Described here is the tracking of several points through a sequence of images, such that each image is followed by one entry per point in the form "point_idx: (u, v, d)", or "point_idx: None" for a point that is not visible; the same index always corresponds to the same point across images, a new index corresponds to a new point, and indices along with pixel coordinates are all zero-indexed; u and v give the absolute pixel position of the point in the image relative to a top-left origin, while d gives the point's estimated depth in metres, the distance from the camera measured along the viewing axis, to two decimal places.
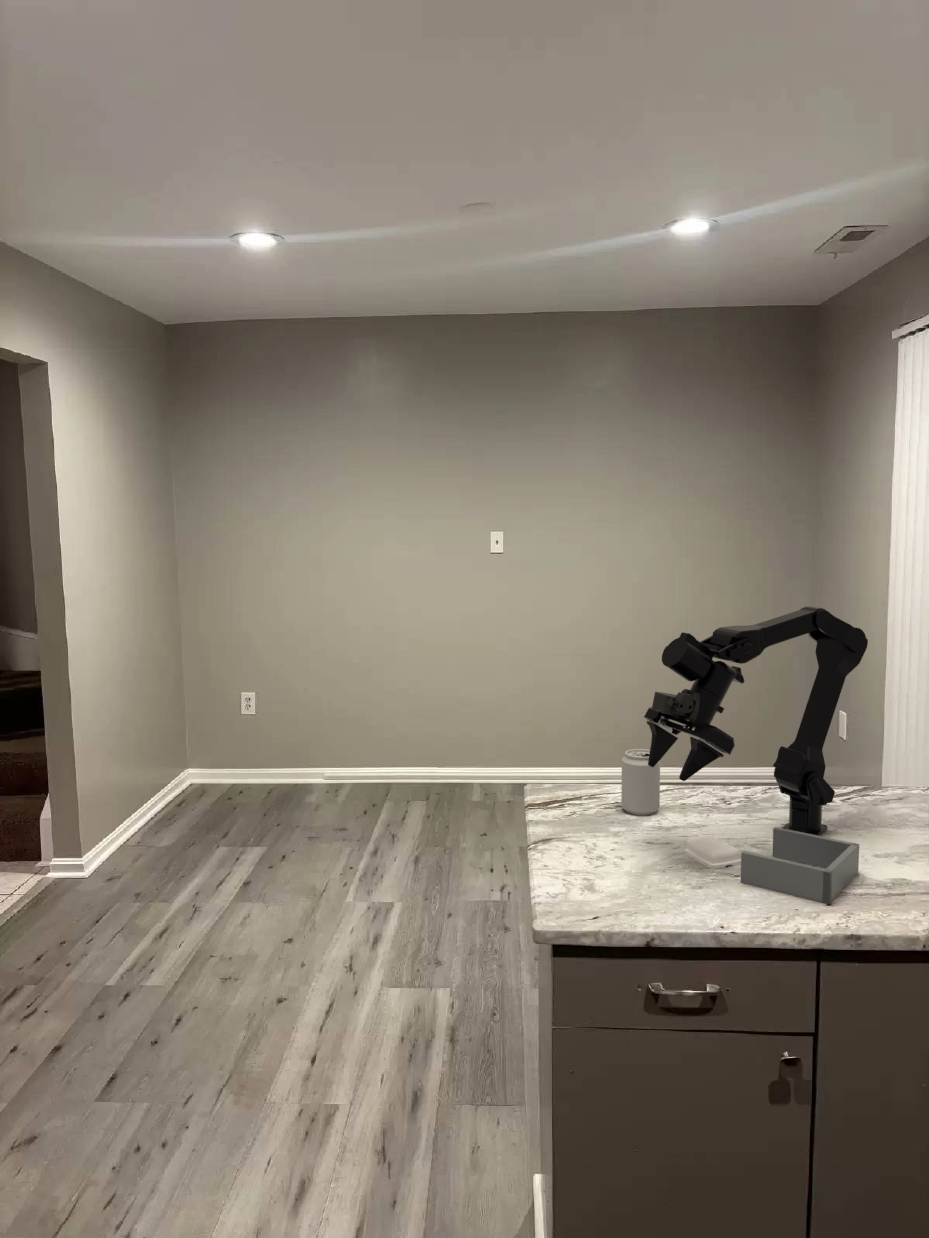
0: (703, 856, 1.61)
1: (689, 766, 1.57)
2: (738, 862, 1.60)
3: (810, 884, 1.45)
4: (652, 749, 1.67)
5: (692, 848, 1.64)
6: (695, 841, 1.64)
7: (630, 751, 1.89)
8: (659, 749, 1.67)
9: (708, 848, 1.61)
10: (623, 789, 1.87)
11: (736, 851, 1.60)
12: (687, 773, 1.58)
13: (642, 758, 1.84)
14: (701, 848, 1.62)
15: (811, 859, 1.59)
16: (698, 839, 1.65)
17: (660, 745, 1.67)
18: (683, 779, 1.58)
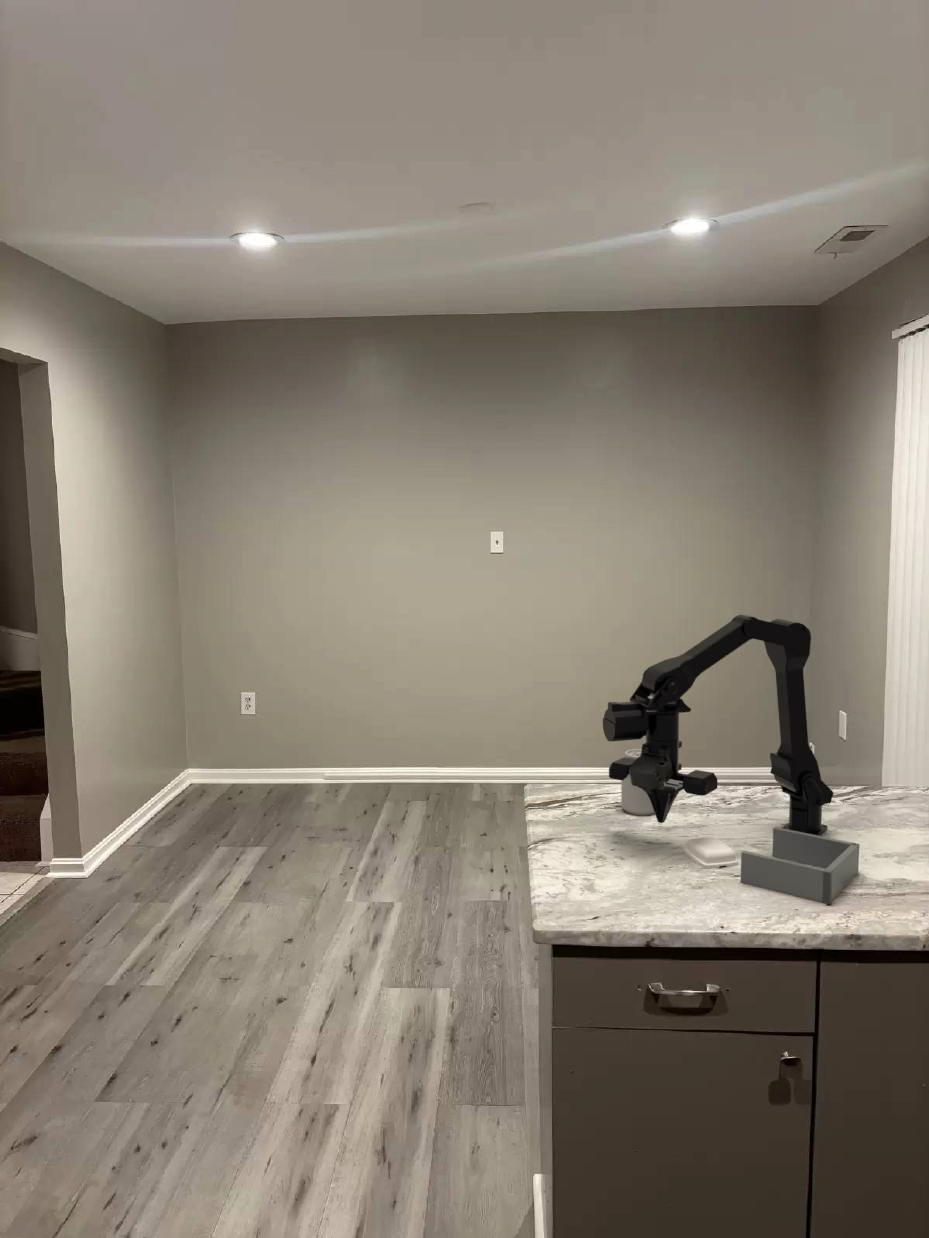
0: (698, 855, 1.61)
1: (665, 810, 1.67)
2: (733, 863, 1.59)
3: (810, 884, 1.45)
4: (656, 807, 1.68)
5: (689, 848, 1.64)
6: (693, 840, 1.64)
7: (630, 751, 1.89)
8: None
9: (704, 848, 1.61)
10: (623, 789, 1.87)
11: (731, 853, 1.60)
12: (665, 815, 1.68)
13: None
14: (697, 847, 1.62)
15: (811, 859, 1.59)
16: (697, 839, 1.65)
17: (659, 799, 1.69)
18: (663, 821, 1.69)
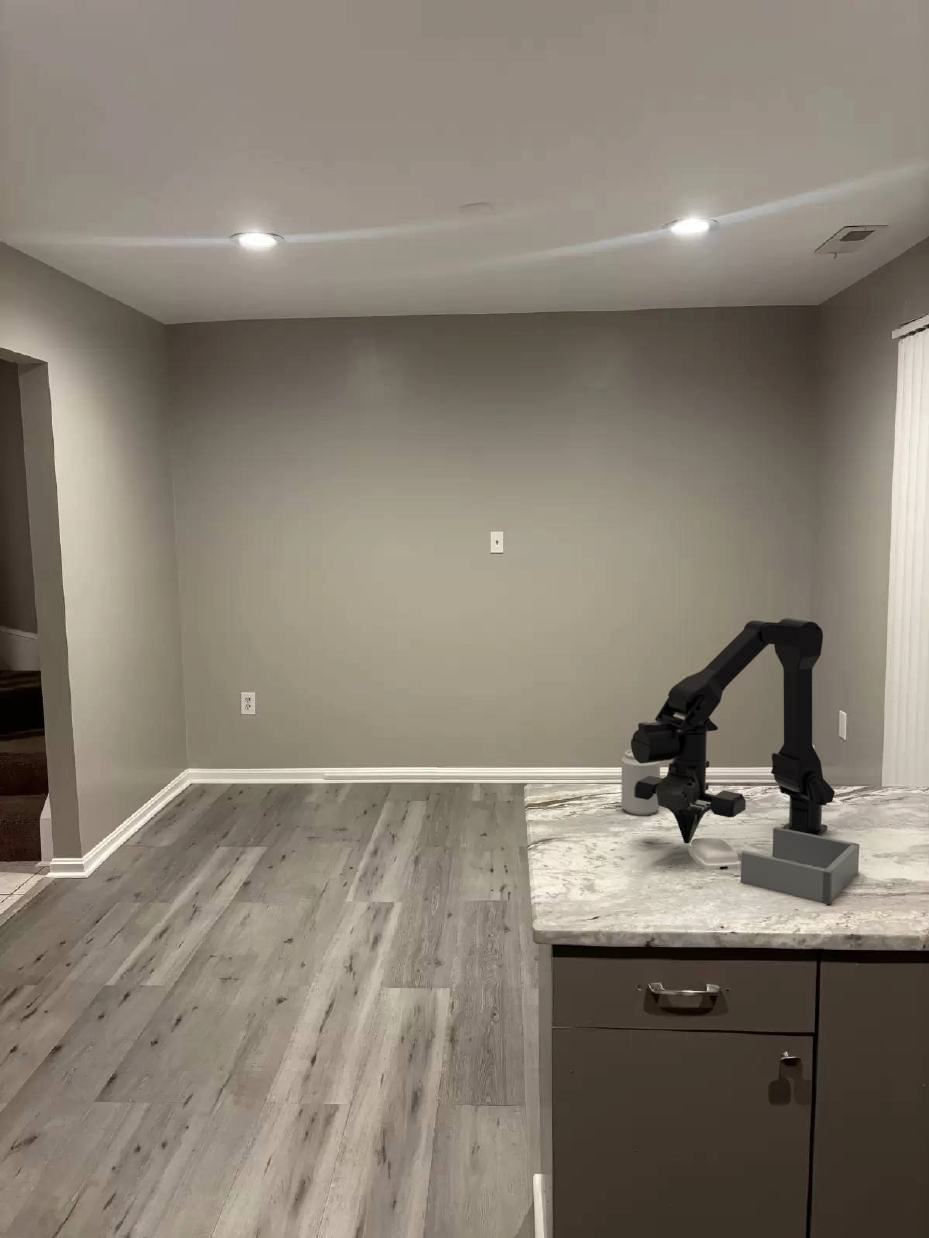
0: (700, 855, 1.60)
1: (691, 831, 1.64)
2: (735, 865, 1.58)
3: (810, 884, 1.45)
4: (682, 828, 1.65)
5: (693, 847, 1.64)
6: (698, 840, 1.64)
7: (630, 751, 1.89)
8: None
9: (706, 848, 1.60)
10: (623, 789, 1.87)
11: (733, 854, 1.59)
12: (691, 836, 1.65)
13: None
14: (700, 847, 1.61)
15: (811, 859, 1.59)
16: (702, 839, 1.65)
17: (686, 819, 1.66)
18: (689, 841, 1.66)
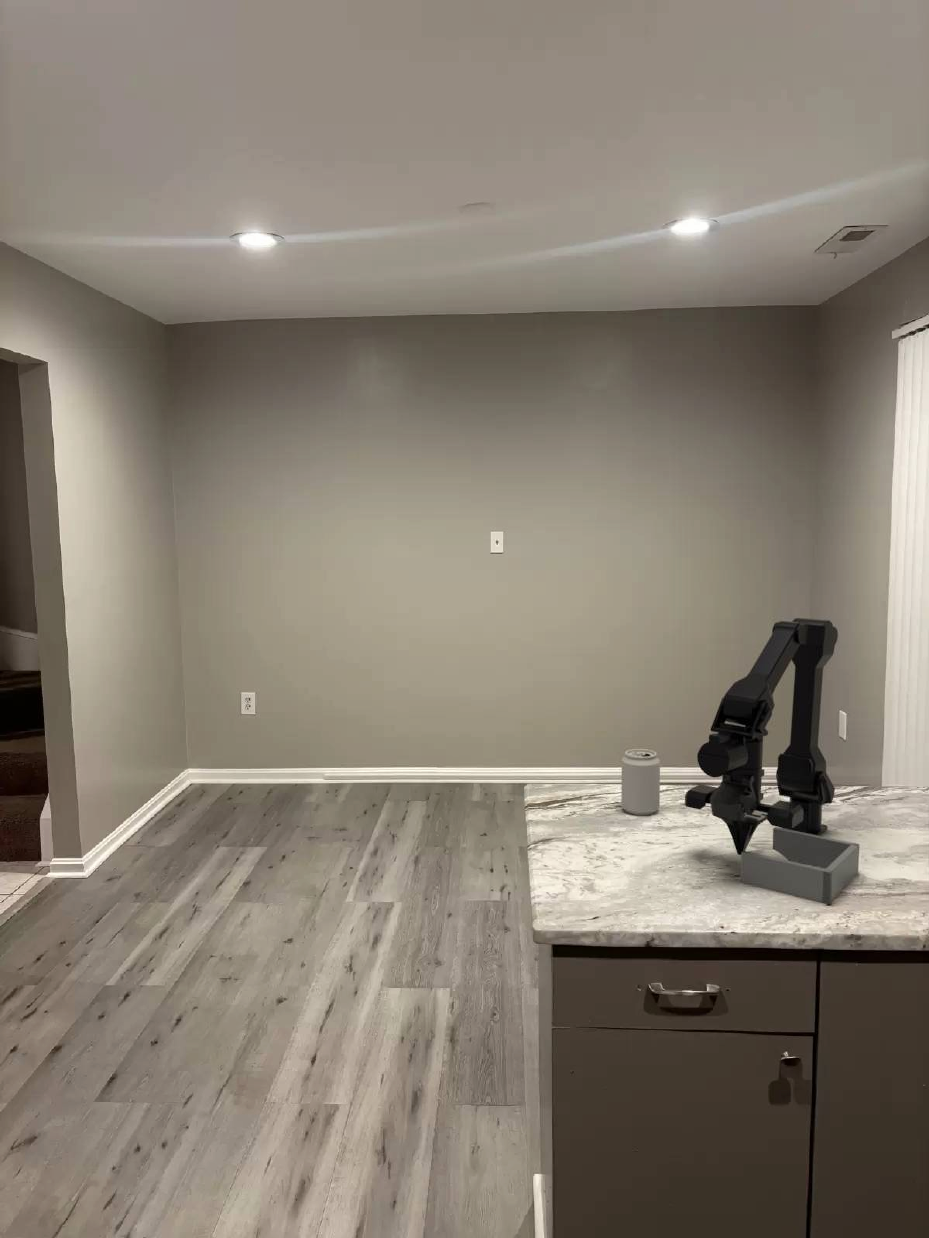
0: None
1: (746, 842, 1.58)
2: None
3: (810, 884, 1.45)
4: (736, 839, 1.59)
5: None
6: None
7: (630, 751, 1.89)
8: None
9: None
10: (623, 789, 1.87)
11: None
12: (745, 847, 1.59)
13: (642, 758, 1.84)
14: None
15: (811, 859, 1.59)
16: (757, 851, 1.59)
17: (739, 830, 1.59)
18: None
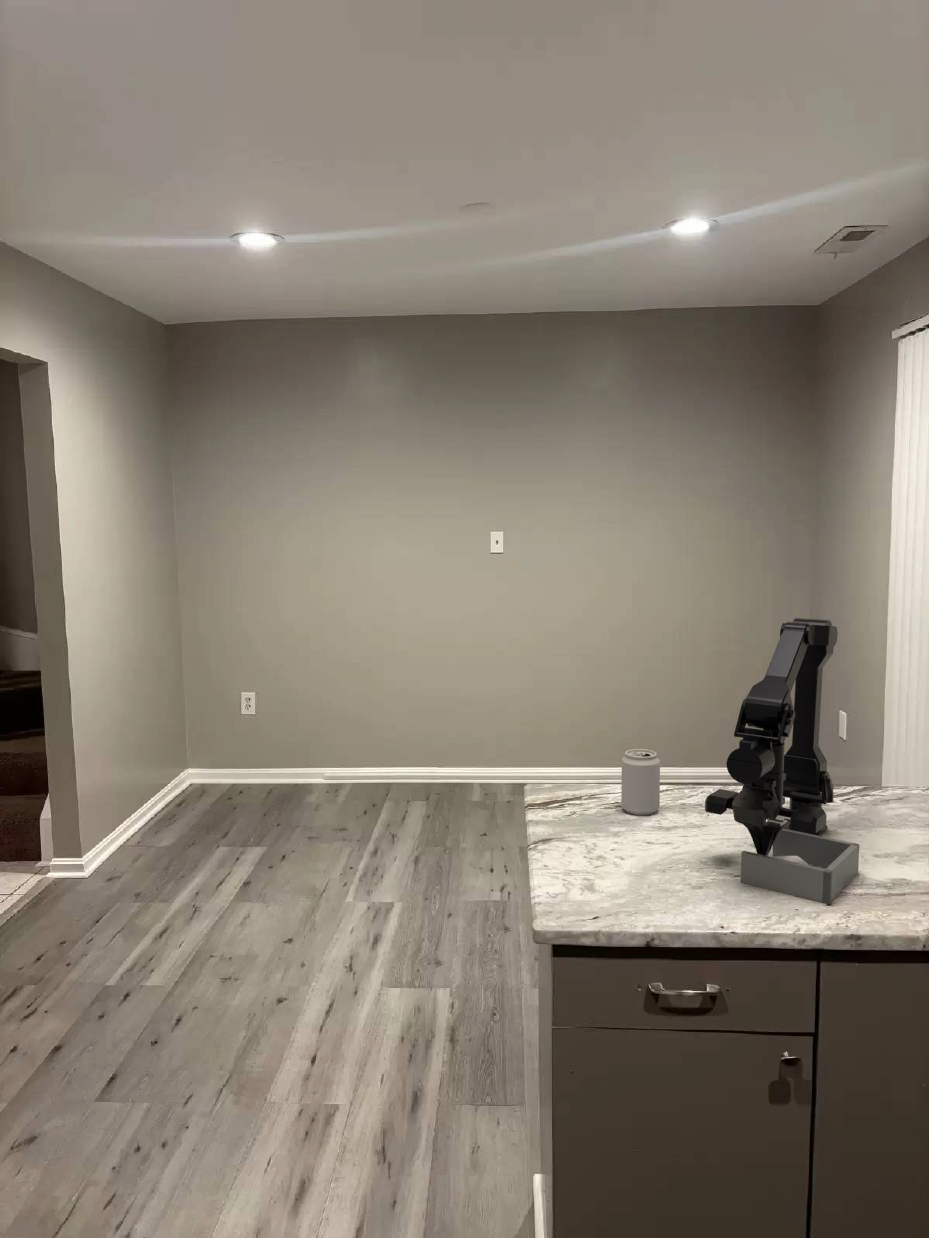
0: None
1: (768, 847, 1.56)
2: None
3: (810, 884, 1.45)
4: (757, 844, 1.57)
5: None
6: None
7: (630, 751, 1.89)
8: (762, 839, 1.57)
9: None
10: (623, 789, 1.87)
11: None
12: (767, 852, 1.57)
13: (642, 758, 1.84)
14: None
15: (811, 859, 1.59)
16: (779, 857, 1.57)
17: (761, 835, 1.57)
18: None
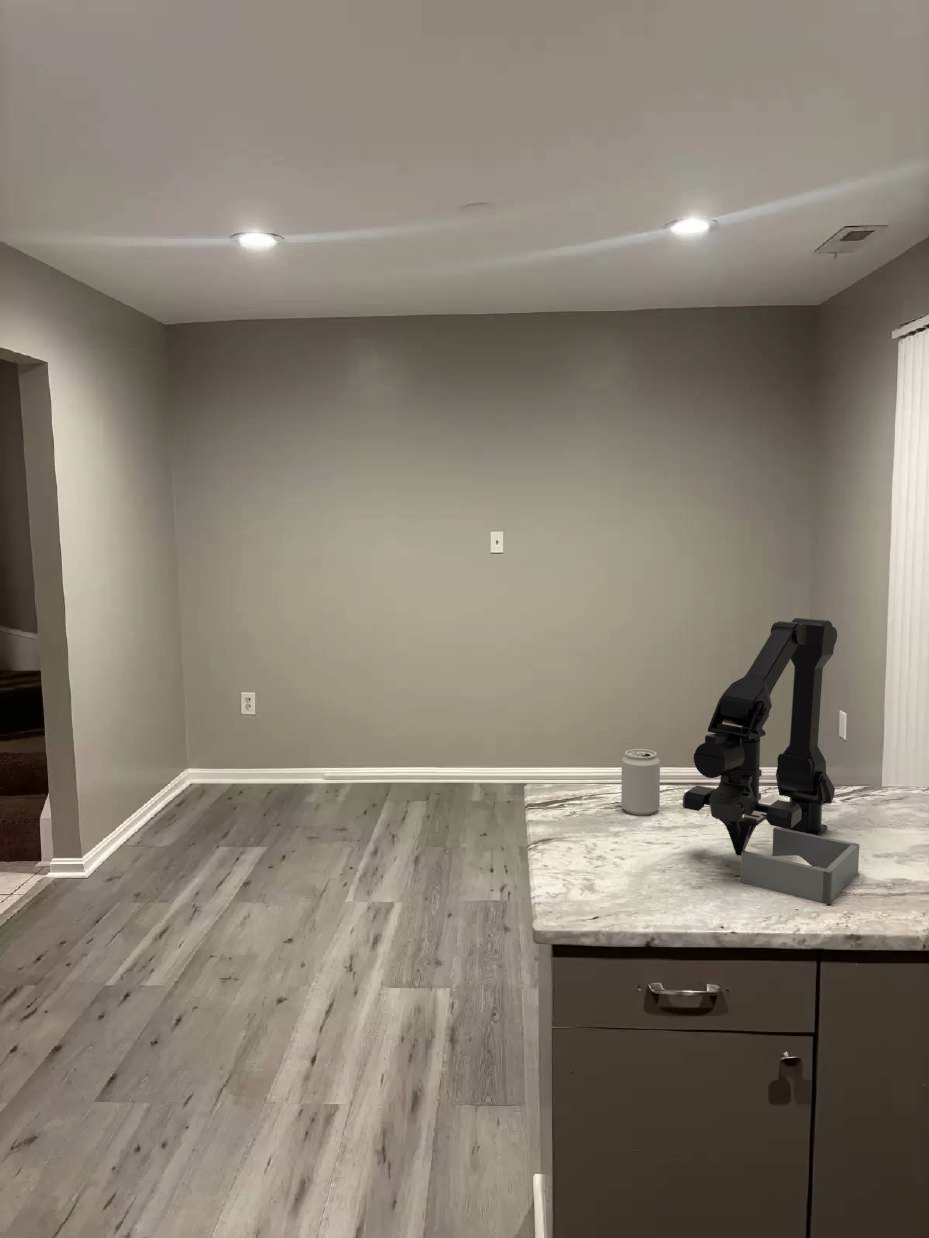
0: None
1: (745, 842, 1.58)
2: None
3: (810, 884, 1.45)
4: (734, 839, 1.59)
5: None
6: None
7: (630, 751, 1.89)
8: (738, 835, 1.60)
9: None
10: (623, 789, 1.87)
11: None
12: (744, 847, 1.59)
13: (642, 758, 1.84)
14: None
15: (811, 859, 1.59)
16: (780, 857, 1.56)
17: (737, 831, 1.60)
18: None
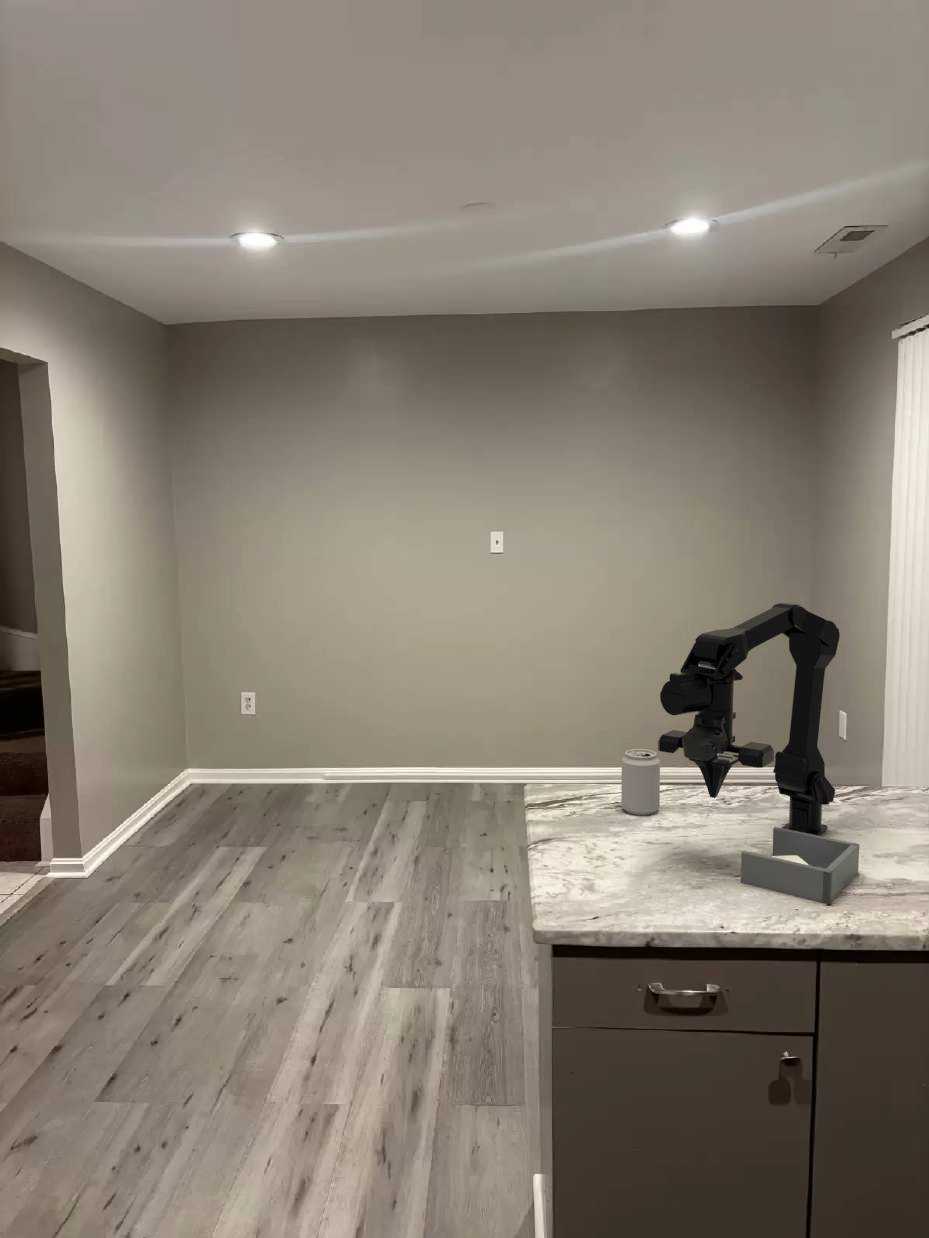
0: None
1: (718, 784, 1.60)
2: None
3: (810, 884, 1.45)
4: (708, 781, 1.61)
5: None
6: None
7: (630, 751, 1.89)
8: (712, 777, 1.62)
9: None
10: (623, 789, 1.87)
11: None
12: (718, 789, 1.61)
13: (642, 758, 1.84)
14: None
15: (811, 859, 1.59)
16: (779, 856, 1.56)
17: (712, 773, 1.61)
18: (716, 796, 1.61)
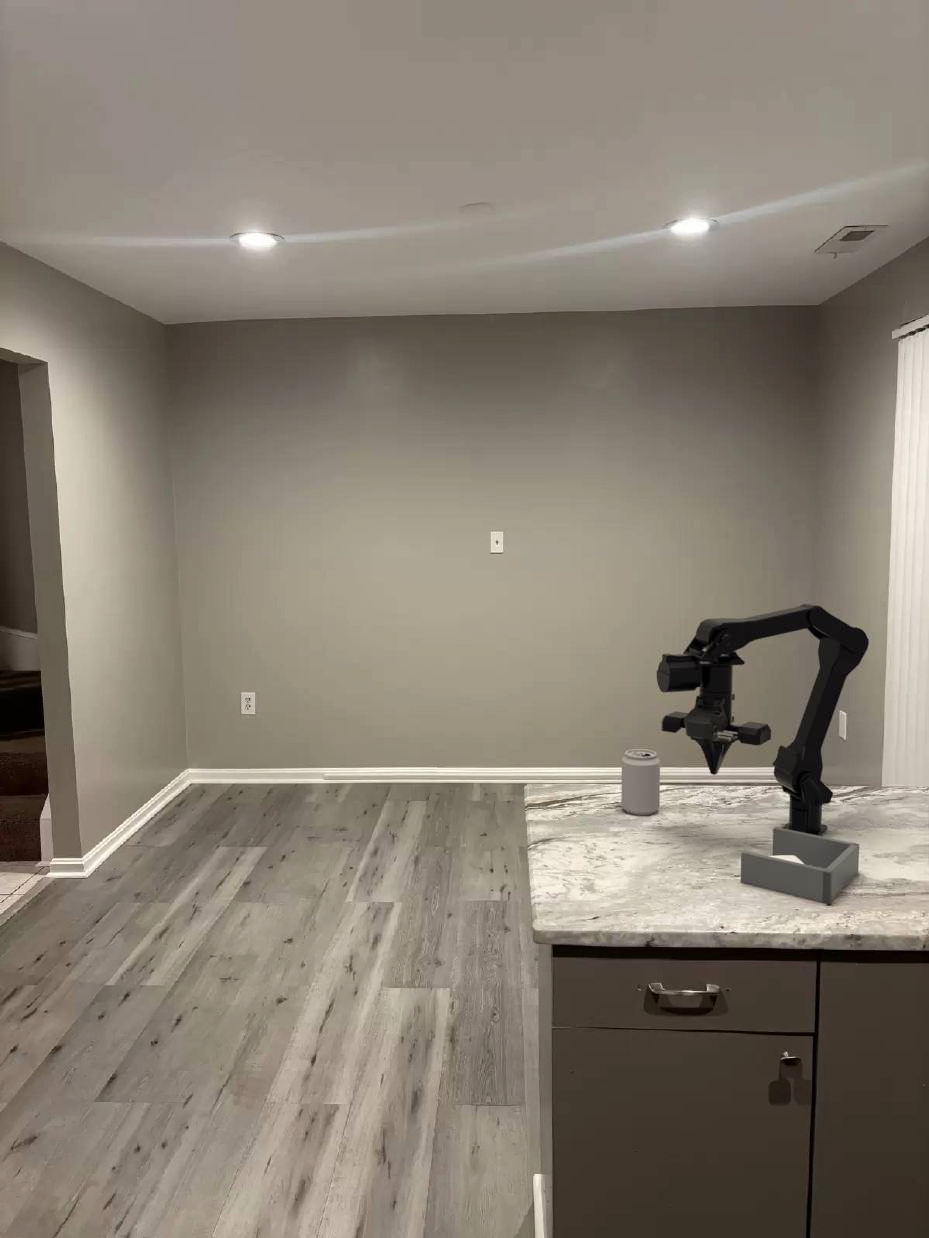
0: None
1: (718, 762, 1.70)
2: None
3: (810, 884, 1.45)
4: (709, 759, 1.70)
5: None
6: None
7: (630, 751, 1.89)
8: (713, 755, 1.71)
9: None
10: (623, 789, 1.87)
11: None
12: (718, 767, 1.70)
13: (642, 758, 1.84)
14: None
15: (811, 859, 1.59)
16: (775, 856, 1.57)
17: (712, 751, 1.71)
18: (716, 773, 1.71)
